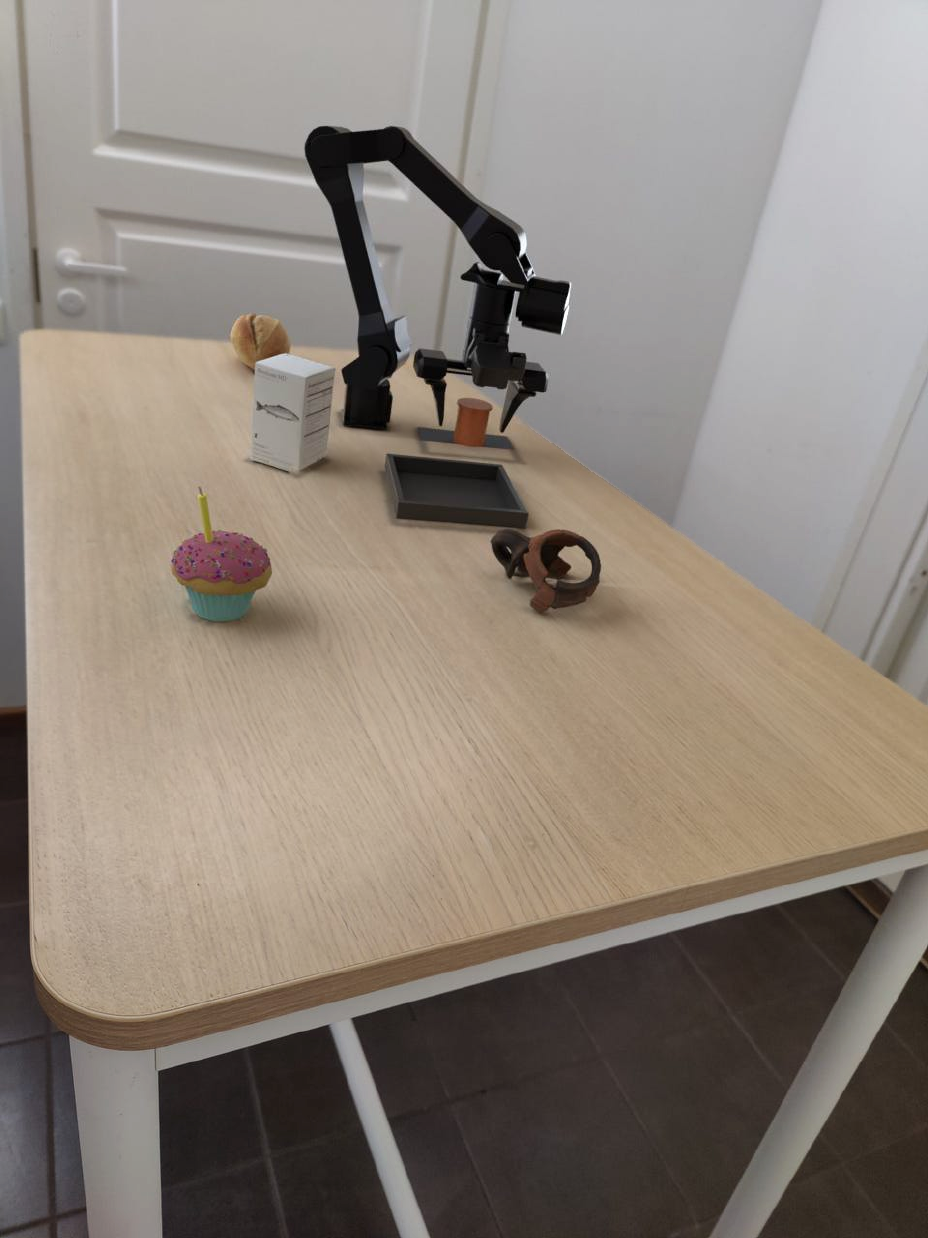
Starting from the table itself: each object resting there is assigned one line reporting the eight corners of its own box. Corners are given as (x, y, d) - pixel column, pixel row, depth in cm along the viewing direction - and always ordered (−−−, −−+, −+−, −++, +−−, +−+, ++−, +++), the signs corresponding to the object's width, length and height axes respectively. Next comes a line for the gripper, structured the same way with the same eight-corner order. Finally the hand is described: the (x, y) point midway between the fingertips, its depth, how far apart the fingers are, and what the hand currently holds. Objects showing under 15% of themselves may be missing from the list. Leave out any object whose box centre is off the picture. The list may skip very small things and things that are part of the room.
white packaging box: (247, 460, 111) (252, 360, 105) (279, 446, 117) (285, 351, 111) (298, 477, 109) (306, 376, 103) (328, 461, 115) (337, 365, 109)
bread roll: (235, 376, 141) (236, 325, 137) (225, 350, 152) (226, 302, 148) (295, 380, 144) (298, 330, 140) (281, 354, 156) (283, 308, 152)
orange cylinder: (453, 447, 127) (460, 407, 124) (448, 435, 131) (454, 395, 128) (488, 451, 128) (495, 411, 125) (482, 438, 133) (489, 399, 130)
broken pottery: (588, 584, 98) (619, 543, 91) (563, 650, 93) (593, 613, 86) (492, 534, 97) (516, 491, 90) (461, 598, 92) (483, 557, 85)
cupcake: (182, 637, 75) (183, 508, 69) (162, 589, 81) (161, 467, 75) (280, 626, 79) (289, 504, 73) (254, 581, 85) (260, 465, 79)
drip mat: (425, 453, 124) (426, 450, 124) (417, 429, 133) (417, 426, 132) (520, 462, 127) (521, 459, 127) (506, 438, 136) (506, 436, 136)
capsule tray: (395, 524, 102) (398, 502, 101) (383, 473, 115) (386, 453, 114) (524, 534, 105) (528, 513, 104) (498, 483, 119) (502, 464, 117)
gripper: (431, 324, 112) (414, 441, 120) (569, 343, 116) (544, 454, 124) (420, 305, 122) (405, 415, 129) (548, 323, 126) (527, 428, 133)
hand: (470, 428), depth 129 cm, fingers open, 9 cm apart
